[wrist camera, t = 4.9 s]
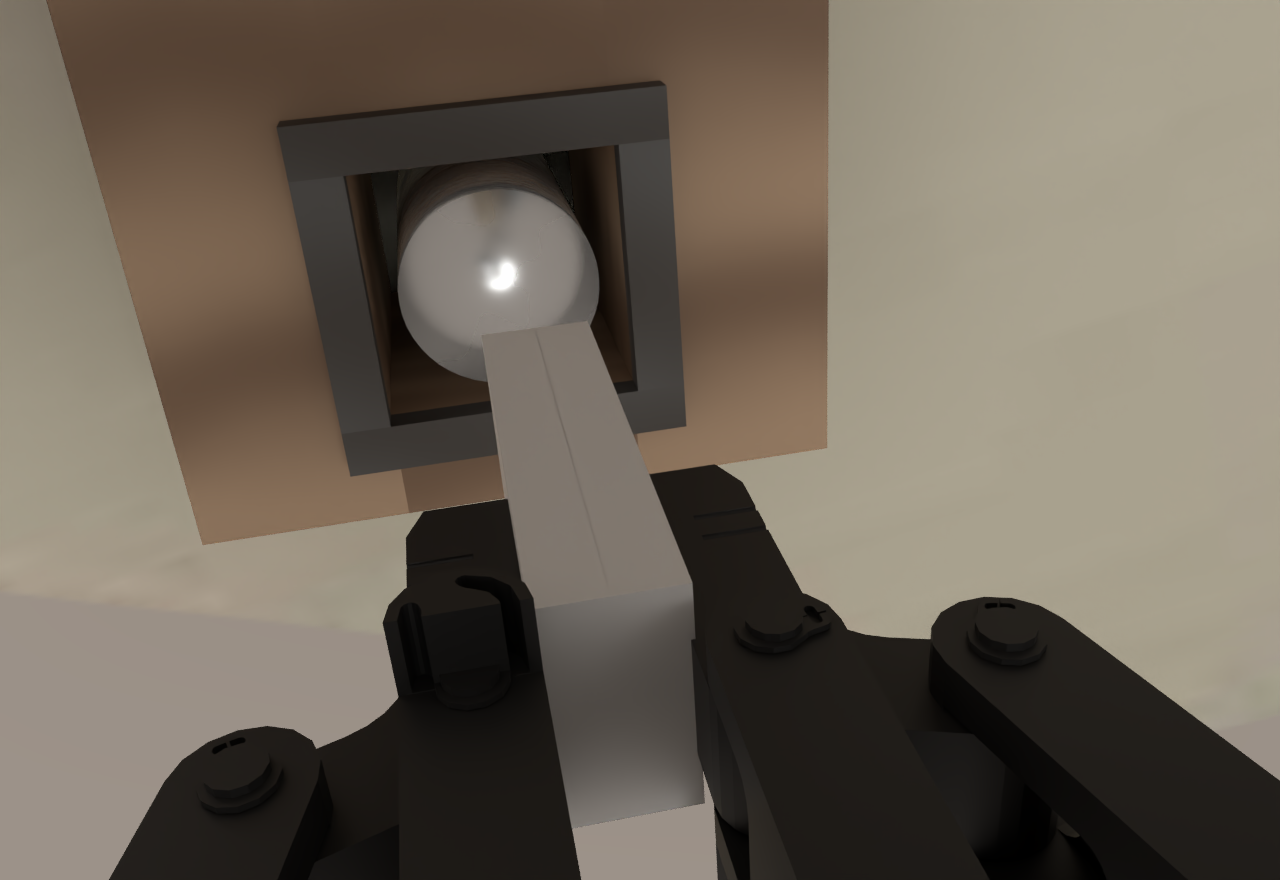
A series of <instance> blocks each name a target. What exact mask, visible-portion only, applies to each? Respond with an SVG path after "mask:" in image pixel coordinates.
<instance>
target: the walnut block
mask: <svg viewBox="0 0 1280 880" xmlns="http://www.w3.org/2000/svg"><path fill="white" fill-rule="evenodd" d="M46 1H47V4H48V8H49V11H50V15H51V18H52V22H53V25H54V28H55V32H56V35H57V39H58V42H59V46H60V49H61V53H62V56H63V60H64V63H65V67H66V70H67V74H68V77H69V81H70V84H71V88H72V91H73V95H74V98H75V102H76V105H77V109H78V112H79V116H80V119H81V123H82V126H83V129H84V133H85V136H86V140H87V143H88V147H89V150H90V154H91V157H92V161H93V164H94V168H95V171H96V175H97V178H98V182H99V185H100V189H101V192H102V196H103V199H104V203H105V206H106V210H107V213H108V217H109V220H110V223H111V227H112V230H113V234H114V237H115V241H116V244H117V248H118V251H119V255H120V258H121V262H122V265H123V269H124V272H125V276H126V279H127V283H128V286H129V290H130V293H131V297H132V300H133V304H134V307H135V311H136V314H137V317H138V321H139V324H140V328H141V331H142V335H143V338H144V342H145V345H146V349H147V352H148V356H149V359H150V363H151V366H152V370H153V373H154V377H155V380H156V384H157V387H158V391H159V394H160V398H161V401H162V405H163V408H164V412H165V415H166V418H167V422H168V425H169V429H170V432H171V436H172V439H173V443H174V446H175V450H176V453H177V457H178V460H179V464H180V467H181V471H182V474H183V478H184V481H185V485H186V488H187V492H188V495H189V499H190V502H191V506H192V509H193V512H194V516H195V519H196V523H197V526H198V530H199V533H200V537H201V540H202V544H203V545H206V544H212V543H219V542H225V541H232V540H238V539H245V538H251V537H257V536H264V535H270V534H277V533H283V532H290V531H296V530H303V529H309V528H315V527H322V526H328V525H335V524H341V523H348V522H354V521H360V520H367V519H373V518H380V517H386V516H393V515H399V514H405V513H412V512H418V511H425V510H431V509H438V508H444V507H451V506H457V505H463V504H470V503H476V502H483V501H489V500H496V499H502V498H504V491H503V484H502V477H501V470H500V463H499V456H498V449H497V442H496V435H495V428H494V421H493V414H492V407H491V400H490V393H489V386H488V382H485V381H479V380H474V379H470V378H467V377H463V376H461V375H458V374H456V373H454V372H451V371H449V370H448V369H446V368H444V367H443V366H441V365H439V364H438V363H437V362H435V361H434V360H433V359H432V358H430V357H429V356H428V355H427V354H426V353H425V352H424V351H423V350H422V349H421V348H420V346H419V345H418V344H417V342H416V341H415V340H414V339H413V337H412V335H411V333H410V332H409V330H408V328H407V326H406V324H405V321H404V319H403V316H402V313H401V309H400V305H399V297H398V292H395V293H392V292H391V287H390V281H389V276H388V270H387V264H386V259H385V253H384V248H383V242H382V236H381V231H380V225H379V220H378V214H377V208H376V203H375V197H374V192H373V186H372V180H371V175H370V173H375V172H384V171H392V170H401V169H410V168H418V167H427V166H436V165H445V164H453V163H462V162H471V161H480V160H488V159H497V158H506V157H515V156H523V155H532V154H541V153H549V152H558V151H567V150H569V160H570V170H571V180H572V190H573V200H574V210H575V217H576V219H577V221H578V223H579V225H580V227H581V228H582V230H583V232H584V234H585V236H586V238H587V240H588V242H589V244H590V246H591V248H592V250H593V253H594V256H595V259H596V262H597V267H598V273H599V297H598V304H597V308H596V312H595V315H594V317H593V320H592V323H591V325H590V328H591V330H592V333H593V335H594V338H595V340H596V343H597V345H598V348H599V350H600V353H601V355H602V358H603V360H604V363H605V365H606V368H607V370H608V373H609V375H610V378H611V380H612V383H613V385H614V388H615V390H616V393H617V395H618V398H619V400H620V403H621V405H622V408H623V410H624V413H625V415H626V418H627V420H628V423H629V425H630V428H631V430H632V433H633V435H634V438H635V440H636V443H637V445H638V448H639V450H640V453H641V455H642V458H643V460H644V463H645V465H646V468H647V470H648V473H649V474H653V473H660V472H667V471H673V470H680V469H686V468H693V467H699V466H706V465H713V464H715V465H721V464H727V463H734V462H740V461H747V460H753V459H759V458H766V457H772V456H779V455H785V454H792V453H798V452H804V451H811V450H817V449H824V448H827V289H828V0H46Z"/></svg>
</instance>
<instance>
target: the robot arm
mask: <svg viewBox="0 0 1280 880" xmlns="http://www.w3.org/2000/svg"><path fill="white" fill-rule="evenodd" d="M481 337H482V344H483V351H484V358H485V365H486V372H487V379H488V386H489V393H490V400H491V407H492V414H493V421H494V428H495V435H496V442H497V449H498V456H499V463H500V470H501V477H502V484H503V491H504V498H505V499H503V500H496V501H490V502H483V503H477V504H470V505H463V506H457V507H450V508H444V509H437V510H431V511H424V512H423V513H422V515H421V516H420V518H419V519H418V521H417V522H416V524H415V525H414V527H413V528H412V530H411V531H410V533H409V534H408V536H407V537H406V564H407V588H406V589H404V590H403V591H402V592H401V593H400V594H399V595H398V596H397V597H396V598H395V599H394V600H393V601H392V602H391V603H390V604H389V606H388V609H387V612H386V615H385V618H384V621H383V627H384V631H385V636H386V640H387V645H388V650H389V655H390V659H391V664H392V668H393V673H394V678H395V683H396V687H397V692H398V696H399V697H398V699H397V700H396V701H395V702H394V704H393V705H392V706H391V707H390V708H389V709H388V710H387V711H386V712H385V713H384V714H383V715H382V716H380V717H379V718H378V719H376V720H375V721H373V722H372V723H371V724H369V725H368V726H366V727H364V728H362V729H360V730H358V731H356V732H354V733H352V734H351V735H349V736H346V737H344V738H342V739H339V740H337V741H335V742H332V743H330V744H327V745H325V746H322V747H320V748H318V749H316V748H315V746H314V744H313V742H312V740H310V739H308V738H307V737H305V736H303V735H302V734H300V733H298V732H296V731H295V730H293V729H285V728H277V727H270V726H265V727H258V728H251V729H244V730H238V731H235V732H233V733H230V734H227V735H225V736H223V737H220V738H218V739H215V740H212V741H210V742H208V743H206V744H205V745H203V746H202V747H200V748H199V749H198V750H196V751H195V752H193V753H192V754H191V755H189V756H187V757H186V758H185V759H183V760H182V761H181V762H180V763H179V765H178V766H177V767H176V768H175V770H174V771H173V772H172V773H171V774H170V776H169V777H168V778H167V779H166V780H165V782H164V783H163V785H162V787H161V789H160V790H159V792H158V794H157V796H156V798H155V799H154V801H153V803H152V805H151V807H150V808H149V810H148V812H147V813H146V815H145V817H144V819H143V821H142V822H141V824H140V826H139V828H138V829H137V831H136V833H135V835H134V836H133V838H132V840H131V842H130V843H129V845H128V847H127V849H126V851H125V852H124V854H123V856H122V858H121V859H120V861H119V863H118V865H117V866H116V868H115V870H114V872H113V873H112V875H111V877H110V879H109V880H581V876H580V871H579V865H578V860H577V855H576V848H575V843H574V837H573V832H572V829H573V828H578V827H583V826H588V825H593V824H599V823H603V822H609V821H614V820H620V819H625V818H630V817H635V816H640V815H646V814H651V813H656V812H661V811H666V810H672V809H677V808H682V807H687V806H692V805H698V804H703V803H705V800H704V782H703V772H704V775H705V777H706V780H707V784H708V787H709V790H710V793H711V796H712V799H713V802H714V813H715V833H716V853H717V872H718V880H1280V781H1279V780H1278V779H1277V778H1275V777H1274V776H1273V775H1271V774H1270V773H1269V772H1267V771H1266V770H1265V769H1263V768H1262V767H1261V766H1259V765H1258V764H1257V763H1255V762H1254V761H1253V760H1251V759H1250V758H1249V757H1247V756H1246V755H1245V754H1243V753H1242V752H1241V751H1239V750H1238V749H1237V748H1235V747H1234V746H1233V745H1231V744H1230V743H1229V742H1227V741H1226V740H1225V739H1223V738H1222V737H1220V736H1219V735H1218V734H1217V733H1215V732H1214V731H1213V730H1211V729H1210V728H1209V727H1207V726H1206V725H1205V724H1203V723H1202V722H1201V721H1199V720H1198V719H1197V718H1195V717H1194V716H1193V715H1191V714H1190V713H1189V712H1187V711H1186V710H1185V709H1183V708H1182V707H1181V706H1179V705H1178V704H1177V703H1175V702H1174V701H1173V700H1171V699H1170V698H1169V697H1167V696H1166V695H1165V694H1163V693H1162V692H1161V691H1159V690H1158V689H1157V688H1155V687H1154V686H1153V685H1151V684H1150V683H1149V682H1147V681H1146V680H1144V679H1143V678H1142V677H1140V676H1139V675H1138V674H1136V673H1135V672H1134V671H1132V670H1131V669H1130V668H1128V667H1127V666H1126V665H1124V664H1123V663H1122V662H1120V661H1119V660H1118V659H1116V658H1115V657H1114V656H1112V655H1111V654H1110V653H1108V652H1107V651H1106V650H1104V649H1103V648H1102V647H1100V646H1099V645H1098V644H1096V643H1095V642H1094V641H1092V640H1091V639H1090V638H1088V637H1087V636H1086V635H1084V634H1083V633H1082V632H1080V631H1079V630H1078V629H1076V628H1075V627H1074V626H1072V625H1071V624H1070V623H1068V622H1067V621H1066V620H1064V619H1063V618H1061V617H1060V616H1058V615H1056V614H1054V613H1052V612H1050V611H1049V610H1047V609H1045V608H1043V607H1041V606H1039V605H1036V604H1032V603H1028V602H1024V601H1021V600H1017V599H1013V598H996V597H981V598H976V599H972V600H967V601H962V602H958V603H957V604H955V605H953V606H951V607H950V608H948V609H946V610H944V611H943V612H941V613H940V615H939V616H938V618H937V620H936V621H935V623H934V624H933V626H932V628H931V639H910V638H889V637H880V636H871V635H865V634H861V633H857V632H854V631H850V630H847V628H846V626H845V625H844V623H843V621H842V619H841V618H840V617H839V616H838V615H837V614H836V613H835V612H834V611H833V610H832V609H831V607H830V606H829V605H828V604H826V603H824V602H822V601H820V600H818V599H815V598H813V597H811V596H809V595H807V594H803V593H802V591H801V589H800V588H799V586H798V584H797V582H796V580H795V578H794V577H793V575H792V573H791V571H790V569H789V567H788V565H787V564H786V562H785V560H784V558H783V556H782V554H781V553H780V551H779V549H778V547H777V545H776V543H775V541H774V540H773V538H772V536H771V534H770V532H769V530H766V525H765V523H764V521H763V519H762V517H761V516H760V514H759V512H758V510H757V511H756V509H755V505H754V503H753V501H752V499H751V497H750V495H749V493H748V492H747V490H746V488H745V486H744V484H743V482H741V481H740V480H738V479H737V478H735V477H734V476H732V475H730V474H729V473H727V472H726V471H724V470H723V469H721V468H720V467H718V466H717V465H715V464H713V465H706V466H699V467H693V468H686V469H680V470H673V471H667V472H660V473H653V474H649V473H648V470H647V468H646V465H645V463H644V460H643V458H642V455H641V453H640V450H639V448H638V445H637V443H636V440H635V438H634V435H633V433H632V430H631V428H630V425H629V423H628V420H627V418H626V415H625V413H624V410H623V408H622V405H621V403H620V400H619V398H618V395H617V393H616V390H615V388H614V385H613V383H612V380H611V378H610V375H609V373H608V370H607V368H606V365H605V363H604V360H603V358H602V355H601V353H600V350H599V348H598V345H597V343H596V340H595V338H594V335H593V333H592V330H591V328H590V325H589V323H588V321H583V322H575V323H568V324H560V325H553V326H545V327H538V328H530V329H523V330H515V331H508V332H500V333H493V334H485V335H481Z"/></svg>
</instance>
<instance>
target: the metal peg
mask: <svg viewBox="0 0 1280 880" xmlns="http://www.w3.org/2000/svg"><path fill="white" fill-rule="evenodd" d="M397 257H398V297H399V305H400V309H401V313H402V316H403V319H404V321H405V324H406V326H407V328H408V330H409V332H410V333H411V335H412V337H413V339H414V340H415V341H416V342H417V344H418V345H419V346H420V348H421V349H422V350H423V351H424V352H425V353H426V354H427V355H428V356H429V357H430V358H432V359H433V360H434V361H435V362H437V363H438V364H439V365H441V366H443V367H444V368H446V369H448V370H449V371H451V372H454V373H456V374H458V375H461V376H463V377H467V378H470V379H474V380H479V381H485V382H488V379H487V372H486V365H485V358H484V351H483V344H482V337H481V335H485V334H493V333H500V332H508V331H515V330H523V329H530V328H538V327H545V326H553V325H560V324H568V323H575V322H583V321H588V323H589V325H591V323H592V320H593V317H594V315H595V312H596V308H597V304H598V297H599V273H598V267H597V262H596V259H595V256H594V253H593V250H592V248H591V246H590V244H589V242H588V240H587V238H586V236H585V234H584V232H583V230H582V228H581V227H580V225H579V223H578V221H577V219H576V217H575V215H574V213H573V211H572V210H571V208H570V206H569V204H568V202H567V200H566V198H565V196H564V194H563V193H562V191H561V189H560V187H559V185H558V183H557V181H556V179H555V177H554V176H553V174H552V172H551V170H550V168H549V166H548V164H547V162H546V160H545V159H544V157H543V155H542V153H541V154H532V155H523V156H515V157H506V158H497V159H488V160H480V161H471V162H462V163H453V164H445V165H436V166H427V167H418V168H410V169H401V170H399V174H398V180H397Z"/></svg>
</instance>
